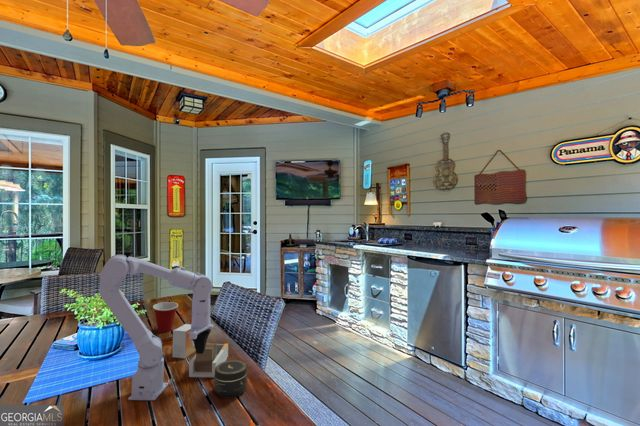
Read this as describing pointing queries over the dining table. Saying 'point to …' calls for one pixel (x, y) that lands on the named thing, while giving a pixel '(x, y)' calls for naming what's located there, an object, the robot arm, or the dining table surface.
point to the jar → (230, 378)
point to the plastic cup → (165, 315)
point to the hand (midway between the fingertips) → (200, 352)
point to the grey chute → (220, 357)
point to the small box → (182, 342)
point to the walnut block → (206, 358)
